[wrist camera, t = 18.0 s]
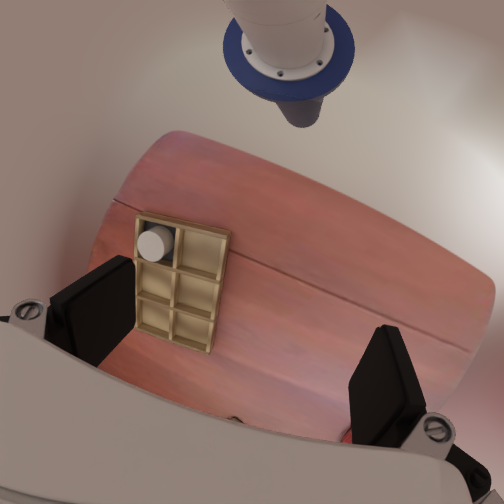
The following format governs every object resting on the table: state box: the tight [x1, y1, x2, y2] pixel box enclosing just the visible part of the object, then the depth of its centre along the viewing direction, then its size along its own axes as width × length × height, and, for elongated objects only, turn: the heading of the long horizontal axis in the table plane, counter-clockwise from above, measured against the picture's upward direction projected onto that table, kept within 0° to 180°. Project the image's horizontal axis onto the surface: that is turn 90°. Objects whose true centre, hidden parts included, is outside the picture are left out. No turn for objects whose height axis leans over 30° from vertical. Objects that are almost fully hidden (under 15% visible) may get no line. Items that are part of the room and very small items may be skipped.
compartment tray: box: [134, 211, 231, 355], centre depth 43 cm, size 20×14×2 cm
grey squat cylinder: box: [137, 226, 174, 262], centre depth 40 cm, size 4×4×3 cm
